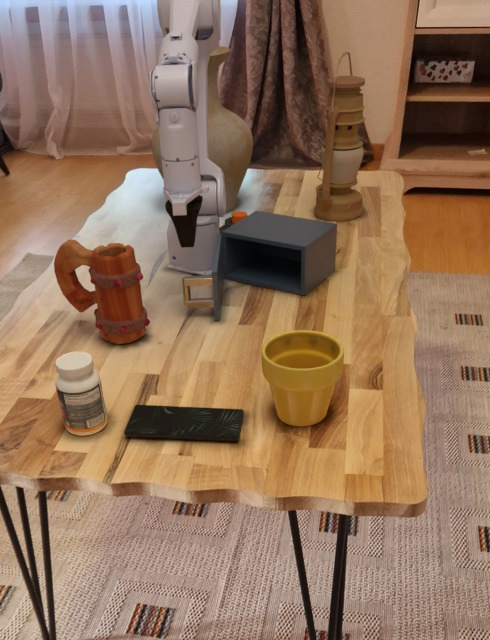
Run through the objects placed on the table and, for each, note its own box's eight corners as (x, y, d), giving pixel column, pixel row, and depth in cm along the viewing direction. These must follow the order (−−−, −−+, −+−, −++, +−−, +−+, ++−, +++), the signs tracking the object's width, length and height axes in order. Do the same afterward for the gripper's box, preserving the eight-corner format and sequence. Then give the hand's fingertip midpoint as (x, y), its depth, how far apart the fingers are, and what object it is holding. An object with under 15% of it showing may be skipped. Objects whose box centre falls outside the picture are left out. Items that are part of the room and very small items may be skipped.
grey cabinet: (304, 296, 126) (305, 246, 120) (223, 278, 133) (221, 231, 127) (335, 270, 133) (337, 223, 128) (257, 255, 141) (256, 210, 135)
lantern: (318, 200, 164) (323, 45, 144) (365, 201, 162) (376, 44, 142) (309, 224, 152) (313, 58, 133) (359, 225, 150) (371, 58, 131)
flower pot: (287, 444, 92) (288, 377, 86) (248, 406, 99) (246, 342, 93) (355, 421, 96) (360, 354, 89) (313, 386, 103) (315, 322, 97)
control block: (212, 237, 149) (211, 222, 147) (230, 226, 154) (230, 212, 152) (250, 244, 145) (249, 229, 143) (267, 233, 150) (267, 218, 148)
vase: (254, 219, 156) (251, 58, 137) (153, 223, 157) (135, 63, 138) (253, 187, 173) (250, 39, 154) (162, 191, 174) (147, 45, 154)
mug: (161, 328, 119) (150, 236, 109) (140, 352, 113) (127, 257, 103) (82, 319, 123) (64, 229, 113) (58, 341, 117) (37, 249, 107)
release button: (228, 223, 147) (228, 215, 146) (237, 218, 149) (236, 210, 148) (242, 226, 146) (242, 217, 145) (250, 221, 148) (250, 212, 147)
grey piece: (184, 321, 120) (179, 272, 115) (191, 280, 133) (188, 234, 127) (219, 320, 120) (216, 271, 114) (224, 279, 132) (221, 233, 127)
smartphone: (238, 437, 92) (123, 432, 94) (238, 444, 93) (124, 438, 95) (244, 408, 97) (135, 403, 99) (244, 414, 98) (135, 409, 100)
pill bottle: (67, 415, 100) (52, 350, 93) (109, 412, 100) (97, 347, 94) (63, 439, 95) (48, 373, 89) (107, 435, 96) (94, 369, 89)
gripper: (203, 169, 104) (209, 262, 112) (209, 142, 115) (214, 229, 123) (154, 171, 104) (164, 263, 113) (165, 144, 115) (173, 230, 124)
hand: (187, 245), depth 118 cm, fingers closed
